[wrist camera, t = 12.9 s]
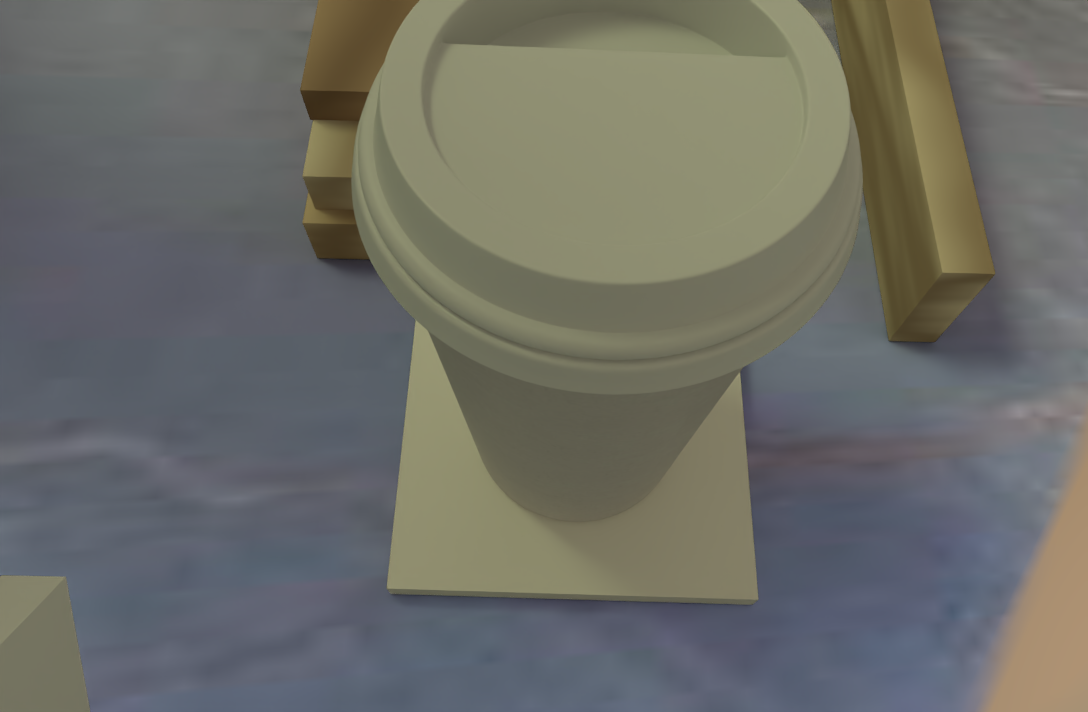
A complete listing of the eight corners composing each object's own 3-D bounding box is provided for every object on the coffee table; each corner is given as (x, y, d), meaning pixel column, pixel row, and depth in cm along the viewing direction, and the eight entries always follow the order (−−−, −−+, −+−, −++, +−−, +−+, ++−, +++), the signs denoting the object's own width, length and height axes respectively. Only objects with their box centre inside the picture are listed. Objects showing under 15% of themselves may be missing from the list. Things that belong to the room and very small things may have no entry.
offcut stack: (317, 257, 32) (277, 162, 27) (369, -43, 39) (344, -160, 34) (439, 261, 32) (421, 166, 27) (469, -40, 39) (459, -158, 34)
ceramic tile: (391, 593, 26) (386, 588, 26) (423, 284, 31) (420, 272, 30) (752, 604, 26) (758, 599, 25) (728, 292, 31) (732, 280, 30)
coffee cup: (763, 361, 29) (960, -11, 16) (659, 627, 25) (805, 437, 12) (507, 258, 31) (487, -155, 17) (372, 492, 27) (210, 192, 13)
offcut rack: (308, 325, 30) (273, 254, 26) (380, -95, 40) (362, -193, 36) (934, 342, 30) (995, 273, 26) (851, -85, 40) (885, -182, 36)
